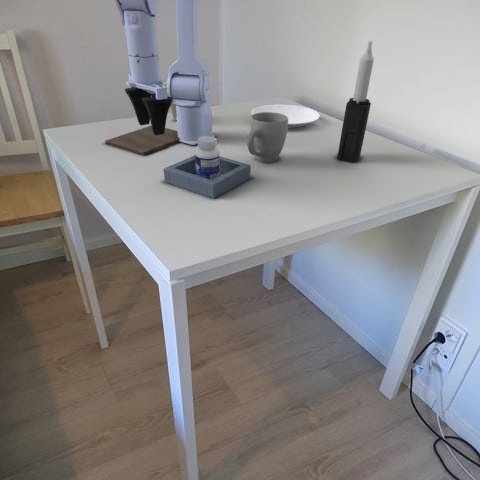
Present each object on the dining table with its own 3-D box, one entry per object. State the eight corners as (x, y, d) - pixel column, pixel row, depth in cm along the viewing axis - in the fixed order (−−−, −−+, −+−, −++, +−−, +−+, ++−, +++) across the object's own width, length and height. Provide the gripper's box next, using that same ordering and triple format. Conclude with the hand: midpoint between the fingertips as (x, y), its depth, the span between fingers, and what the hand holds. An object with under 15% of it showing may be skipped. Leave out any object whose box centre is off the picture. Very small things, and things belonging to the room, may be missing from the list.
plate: (246, 112, 137) (246, 104, 136) (309, 111, 139) (310, 104, 138) (255, 132, 122) (255, 123, 120) (326, 131, 124) (327, 123, 122)
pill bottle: (196, 175, 97) (194, 134, 91) (219, 175, 97) (218, 134, 91) (196, 185, 93) (194, 143, 87) (220, 184, 93) (220, 142, 87)
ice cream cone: (180, 123, 126) (176, 65, 116) (164, 122, 127) (159, 64, 117) (185, 118, 130) (182, 62, 120) (169, 117, 131) (165, 61, 121)
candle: (360, 156, 108) (384, 40, 92) (356, 163, 105) (380, 43, 89) (341, 153, 110) (361, 38, 94) (336, 159, 106) (356, 41, 90)
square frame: (203, 164, 102) (203, 151, 100) (250, 178, 96) (250, 164, 94) (164, 182, 93) (163, 168, 91) (213, 198, 88) (213, 184, 86)
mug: (263, 149, 110) (265, 109, 104) (291, 158, 106) (295, 117, 100) (233, 162, 103) (234, 120, 97) (262, 171, 99) (265, 128, 93)
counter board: (154, 127, 123) (153, 124, 122) (191, 137, 117) (190, 134, 116) (105, 143, 111) (105, 140, 111) (143, 155, 105) (143, 152, 105)
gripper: (110, 50, 84) (121, 122, 93) (138, 62, 75) (147, 142, 84) (143, 48, 87) (151, 118, 96) (174, 59, 78) (179, 136, 87)
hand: (151, 129), depth 90 cm, fingers open, 7 cm apart
